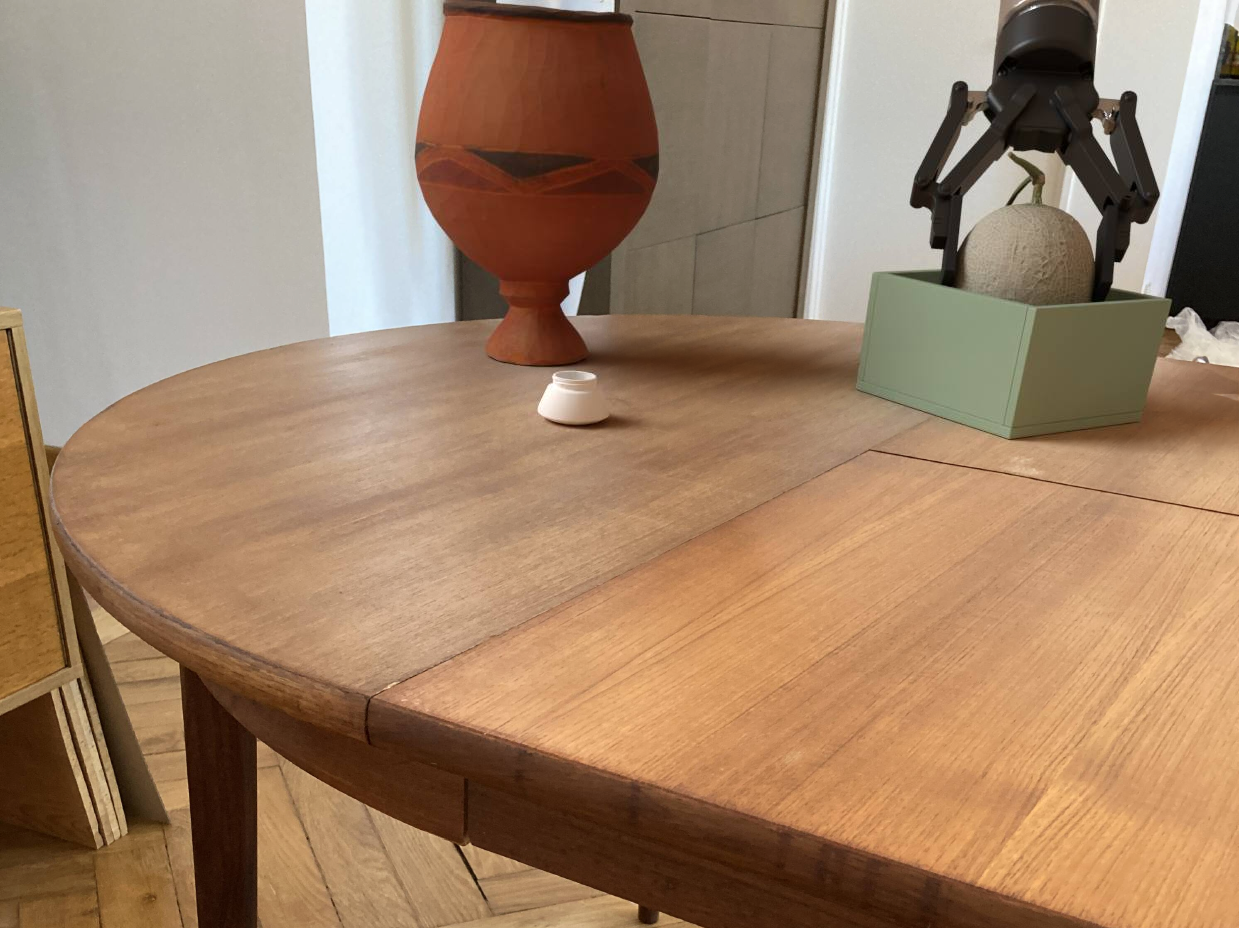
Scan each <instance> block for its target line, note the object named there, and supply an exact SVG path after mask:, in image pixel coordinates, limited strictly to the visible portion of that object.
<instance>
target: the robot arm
mask: <svg viewBox="0 0 1239 928" xmlns="http://www.w3.org/2000/svg"><path fill="white" fill-rule="evenodd" d="M999 1H1000V3H999V13H998V20H997V21H998V22H997V29H996V38H995V48H994V55H993V56H994V58H993V66H992V75H991V76H992V77H991V84H990V85H989V87H987V89H986V90H969V85H968V83H967V82H966V81H963V80H957V81H955V82H954V83H953V84H952V85H951V86H952V87H951V91H950V95H949V100H948V104H947V109H946V114H945V117H944V119H943V120H942V122H941V123H940V126H939V128H938V130H937V132H936V134H935V136H934V138H933V140H932V142H931V144H930V146H929V148H928V150H927V152H926V153H925V156H924V157H923V159H922V161H921V163H920V165H919V167H918V169H917V171H916V173H915V175H914V177H913V182H912V187H911V193H910V196H909V197H910V198H909V205H910V206H911V208H913V209H915V210H919V209H921V208H925V209H927V210H929V211H930V212H931V214H930V220H931V225H930V234H929V242H928V243H929V247H930V249H931V250H940V251H941V250H942V258H941V259H942V260H941V268H940V269H941V277H940V285H943V286H947V287H951V285H952V281H953V277H954V274H955V268H956V258H957V251H958V249H959V237H960V231H961V230H960V228H961V221H962V220H961V218H962V210H963V202H964V201H963V200H964V197H965V195H966V194H967V193H968V192H969V190H971V189H972V187H973V186H974V185H975V184H976V183H977V182H978V181H979V180H980V178H981V177H982V176H983V174H985V173H986V172H987V170H989V168H990V167H991V166H992V165H993V163H994V162H998V161H999V160H1000V159H1001V158H1002V157H1003V156H1004V154H1005V153H1006V152H1007V151H1008V150H1009V149H1010V148H1012V152H1023V153H1024V152H1030V151H1037V152H1039V153H1043V154H1056V153H1057V155H1058V157H1059V158H1060V160H1061V161H1062V163H1063V164H1064V166H1066V167H1067V166H1070V168H1071V170H1072V171H1073V172H1074V174H1075V176H1076V177H1077V179H1078V180H1079V182H1080V183H1081V185H1082V187H1083V188H1084V190H1085V192H1086V193H1087V194H1088V196H1089V198H1090V200H1091V201H1092V202H1093V204H1094V206H1095V207H1096V209H1097V210H1098V212H1099V213H1100V215H1101V216H1102V218H1101V220H1100V223H1099V226H1098V228H1097V230H1096V239H1095V251H1094V252H1095V253H1094V261H1095V283H1094V291H1093V295H1092V303H1095V302H1104V301H1105V299H1106V297H1107V295H1108V292H1109V290H1110V288H1112V286H1113V283H1114V274H1115V263H1117V264H1118V263H1119V264H1120V263H1122V261H1123V259H1124V258H1125V256H1126V253H1127V251H1128V250H1129V247H1130V243H1131V229H1132V224H1133V223H1136V224H1138V225H1145V224H1147V223H1149V220H1150V218H1151V216H1152V215H1153V212H1154V210H1155V207H1156V205H1157V203H1158V201H1159V199H1160V197H1161V192H1160V189H1159V186H1158V182H1157V180H1156V176H1155V172H1154V170H1153V167H1152V164H1151V161H1150V158H1149V155H1148V152H1147V148H1146V145H1145V142H1144V139H1143V135H1142V133H1141V130H1140V126H1139V124H1138V120H1137V118H1136V113H1137V105H1138V94H1137V93H1136V92H1135V91H1133V90H1126V91H1123V92H1122V93H1121V95H1120V98H1119V99H1116V98H1105V97H1104V98H1103V97H1100V95H1099V93H1098V90H1097V89H1096V87H1095V72H1096V60H1097V59H1096V58H1097V46H1098V33H1099V19H1100V6H1101V5H1100V4H1101V0H999ZM979 112H982V114H983V116H984V117H985V118H986V120H987V121H988V122H989V124H990V125H989V127H988V128H987V129H986V131H985V132H984V133H983V134H982V135H981V136H980V137H979V138H978V139H977V141H976V142H975V143H974V144H973V145H972V146H971V148H970V149H969V150H968V151H967V152H966V153H965V154H964V155H963V157H961V159H960V160H959V161H958V162H957V163H956V164H955V165H954V166H953V167H952V169H951V170H950V171H949V172H948V173H947V175H946V176H944V177H943V179H942V180H941V181H940V182H937V181H938V180H939V178H940V176H941V174H942V172H943V170H944V167H945V166H946V164H947V162H948V160H949V158H950V156H951V154H952V152H953V150H954V148H955V146H956V144H957V142H958V140H959V137H960V135H961V133H962V127H967V126H968V125H969V123H970V122H972V121H973V120H974V118H975V116H976V114H978V113H979ZM1093 119H1097V120H1099V121H1100V123H1101V126H1102V129H1103V134H1104V135H1106V136H1109V146H1110V151H1111V154H1112V156H1113V160H1114V163H1115V166H1116V168H1115V166H1114V165H1113V163H1112V161H1111V160H1110V159H1109V157H1108V155H1107V154H1106V152H1105V150H1104V148H1102V146H1101V144H1100V143H1099V141H1098V140H1097V138H1096V137H1095V135H1094V129H1093V125H1092V122H1093Z"/></svg>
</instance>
